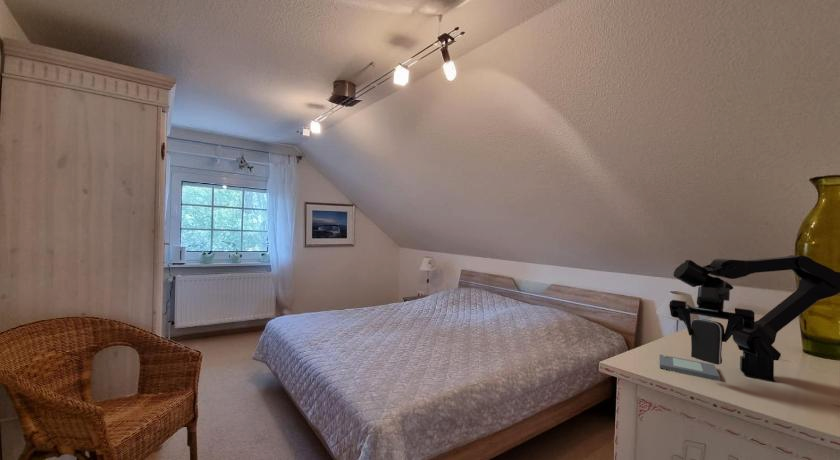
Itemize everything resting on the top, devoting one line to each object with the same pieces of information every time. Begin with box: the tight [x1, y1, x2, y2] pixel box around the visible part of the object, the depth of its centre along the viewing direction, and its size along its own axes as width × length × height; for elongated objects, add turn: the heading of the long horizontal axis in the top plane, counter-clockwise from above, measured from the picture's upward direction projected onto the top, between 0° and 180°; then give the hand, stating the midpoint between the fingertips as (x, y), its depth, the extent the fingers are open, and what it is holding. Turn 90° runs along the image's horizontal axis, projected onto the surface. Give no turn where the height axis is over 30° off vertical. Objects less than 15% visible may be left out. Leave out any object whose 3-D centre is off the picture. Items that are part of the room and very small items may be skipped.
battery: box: [690, 318, 725, 366], centre depth 97 cm, size 7×4×11 cm, turn 24°
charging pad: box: [659, 354, 721, 382], centre depth 106 cm, size 14×12×1 cm
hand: (706, 337), depth 96 cm, fingers closed on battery, 7 cm apart
